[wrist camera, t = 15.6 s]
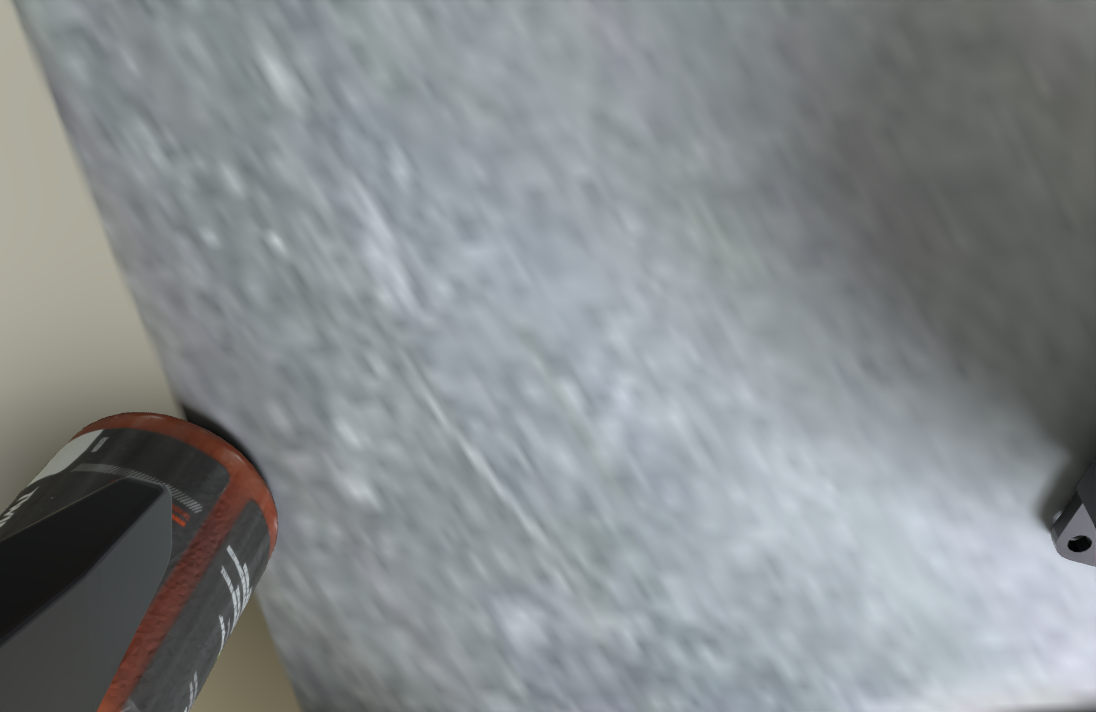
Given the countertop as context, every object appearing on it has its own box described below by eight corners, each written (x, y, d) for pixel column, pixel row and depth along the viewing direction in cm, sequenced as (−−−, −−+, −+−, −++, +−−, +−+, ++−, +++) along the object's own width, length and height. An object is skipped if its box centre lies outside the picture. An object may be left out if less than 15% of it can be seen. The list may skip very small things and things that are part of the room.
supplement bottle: (37, 398, 25) (-379, 801, 15) (257, 401, 24) (-42, 832, 14) (110, 571, 28) (-199, 997, 18) (307, 580, 27) (89, 1033, 17)
